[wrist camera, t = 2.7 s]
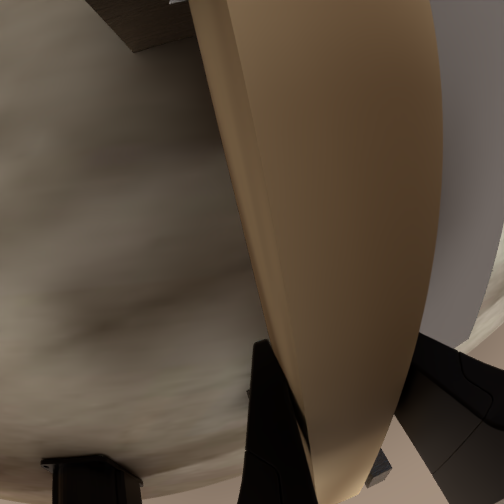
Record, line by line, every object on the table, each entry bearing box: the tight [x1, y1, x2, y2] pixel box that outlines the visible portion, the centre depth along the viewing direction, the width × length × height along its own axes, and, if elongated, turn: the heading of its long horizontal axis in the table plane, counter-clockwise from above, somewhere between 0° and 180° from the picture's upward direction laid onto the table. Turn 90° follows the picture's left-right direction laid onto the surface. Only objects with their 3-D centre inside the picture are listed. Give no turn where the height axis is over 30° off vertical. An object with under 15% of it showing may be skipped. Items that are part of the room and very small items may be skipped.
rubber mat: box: [419, 0, 504, 349], centre depth 14 cm, size 9×28×1 cm, turn 12°
